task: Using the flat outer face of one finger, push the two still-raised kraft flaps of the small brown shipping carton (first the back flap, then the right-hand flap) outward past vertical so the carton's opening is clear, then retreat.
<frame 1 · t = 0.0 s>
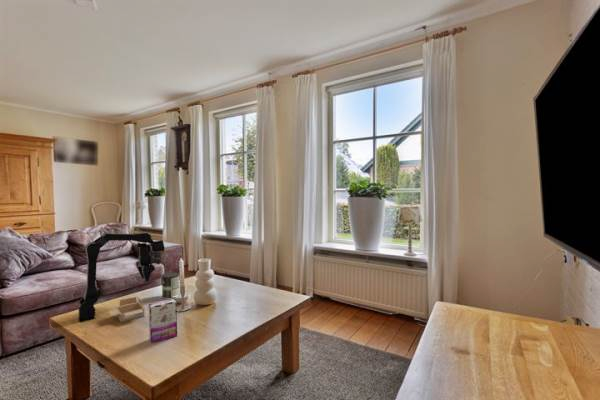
hand: (145, 279, 171), 15 cm above the table, fingers open, 9 cm apart
candy bar box: (163, 338, 133), on the table
flap far: (140, 301, 159), point 7 cm above the table, hinge at -14.0°
carton: (130, 316, 156), on the table
flap left: (128, 301, 160), point 7 cm above the table, hinge at -14.0°
coffee can: (171, 296, 185), on the table
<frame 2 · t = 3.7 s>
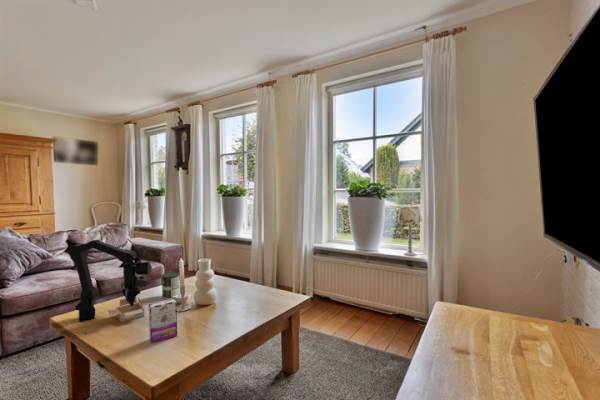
hand: (130, 304, 156), 7 cm above the table, fingers open, 8 cm apart
flap left: (128, 301, 160), point 7 cm above the table, hinge at -11.7°, touching gripper
everything else where it was.
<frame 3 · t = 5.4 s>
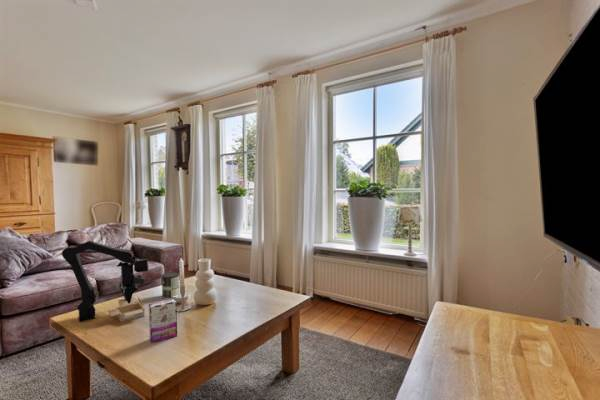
hand: (128, 302, 159), 6 cm above the table, fingers open, 5 cm apart
flap left: (127, 301, 161), point 6 cm above the table, hinge at 47.9°, touching gripper
everything else where it was.
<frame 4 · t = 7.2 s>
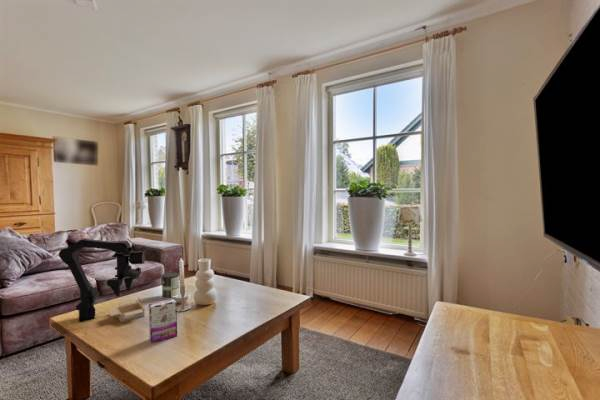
hand: (123, 293, 157), 12 cm above the table, fingers open, 9 cm apart
flap left: (127, 302, 161), point 5 cm above the table, hinge at 73.8°
everything else where it was.
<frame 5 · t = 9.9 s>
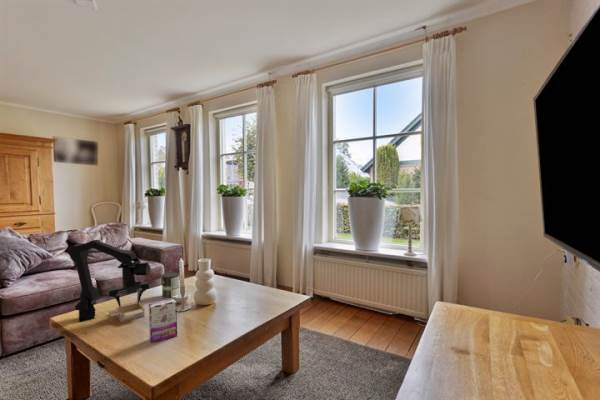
hand: (129, 304, 155), 7 cm above the table, fingers open, 8 cm apart
flap far: (140, 301, 159), point 7 cm above the table, hinge at -13.7°, touching gripper
everything else where it was.
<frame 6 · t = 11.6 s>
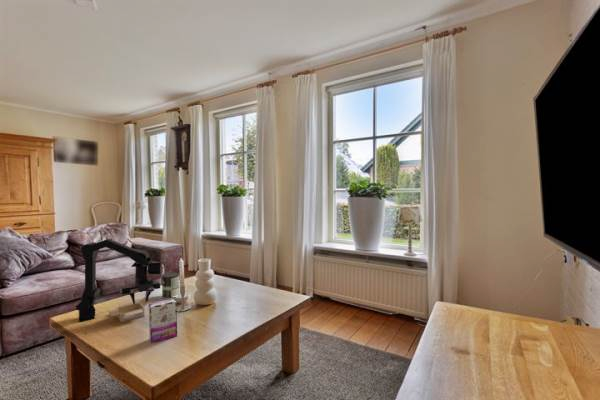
hand: (140, 303, 158), 6 cm above the table, fingers open, 5 cm apart
flap far: (144, 301, 161), point 6 cm above the table, hinge at 49.7°, touching gripper
everything else where it was.
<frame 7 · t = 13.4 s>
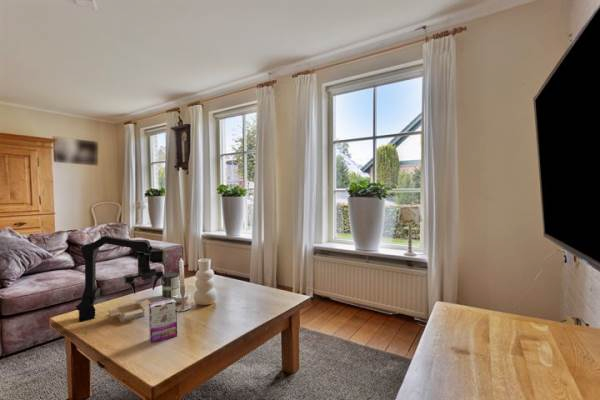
hand: (144, 291, 160), 12 cm above the table, fingers open, 9 cm apart
flap far: (145, 303, 161), point 5 cm above the table, hinge at 75.2°
everything else where it was.
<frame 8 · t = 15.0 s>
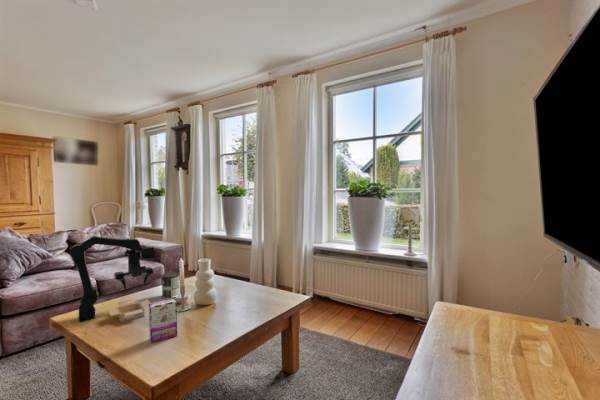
hand: (134, 288, 165), 12 cm above the table, fingers open, 9 cm apart
flap far: (145, 303, 161), point 5 cm above the table, hinge at 75.7°
everything else where it was.
at the end: flap left at +74° (first picture: -14°); flap far at +76° (first picture: -14°) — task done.
